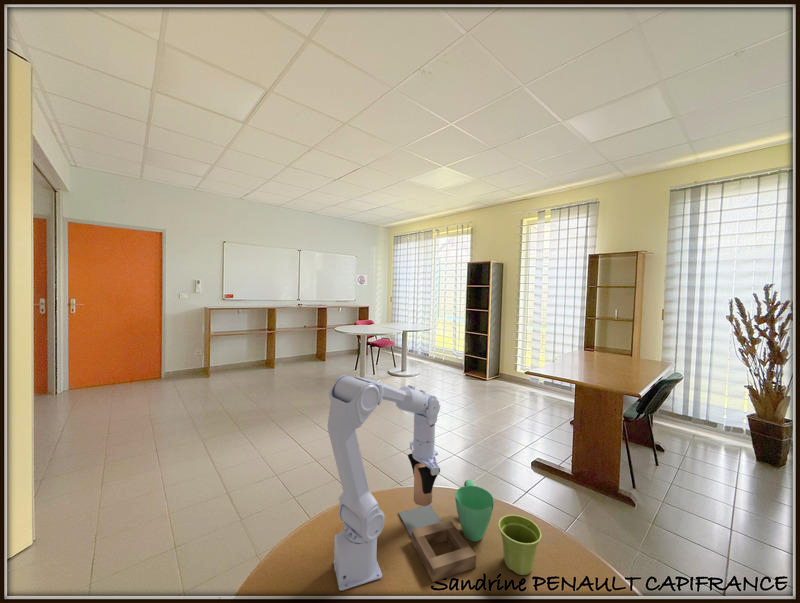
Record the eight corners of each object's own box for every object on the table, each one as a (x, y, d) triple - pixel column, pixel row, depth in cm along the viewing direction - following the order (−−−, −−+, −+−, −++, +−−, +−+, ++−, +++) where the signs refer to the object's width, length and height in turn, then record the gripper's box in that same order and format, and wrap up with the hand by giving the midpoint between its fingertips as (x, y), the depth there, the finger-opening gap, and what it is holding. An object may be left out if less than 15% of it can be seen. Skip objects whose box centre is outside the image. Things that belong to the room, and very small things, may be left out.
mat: (412, 539, 83) (412, 538, 82) (398, 513, 92) (398, 512, 92) (446, 529, 86) (447, 528, 86) (430, 505, 95) (430, 504, 95)
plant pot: (491, 549, 80) (492, 515, 80) (527, 547, 81) (529, 513, 81) (507, 583, 71) (508, 545, 70) (548, 580, 72) (549, 543, 71)
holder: (432, 582, 71) (433, 569, 71) (411, 541, 82) (411, 530, 82) (475, 567, 75) (476, 555, 74) (449, 530, 86) (449, 519, 86)
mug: (496, 550, 80) (498, 511, 79) (456, 548, 80) (457, 509, 80) (483, 509, 94) (485, 476, 94) (450, 507, 95) (451, 474, 94)
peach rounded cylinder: (418, 507, 85) (418, 474, 85) (410, 496, 90) (411, 464, 90) (435, 503, 87) (435, 470, 87) (427, 492, 92) (427, 461, 92)
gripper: (450, 447, 83) (448, 499, 83) (425, 424, 96) (424, 469, 97) (425, 452, 80) (424, 505, 81) (403, 428, 94) (402, 474, 94)
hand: (422, 486), depth 89 cm, fingers closed on peach rounded cylinder, 5 cm apart
